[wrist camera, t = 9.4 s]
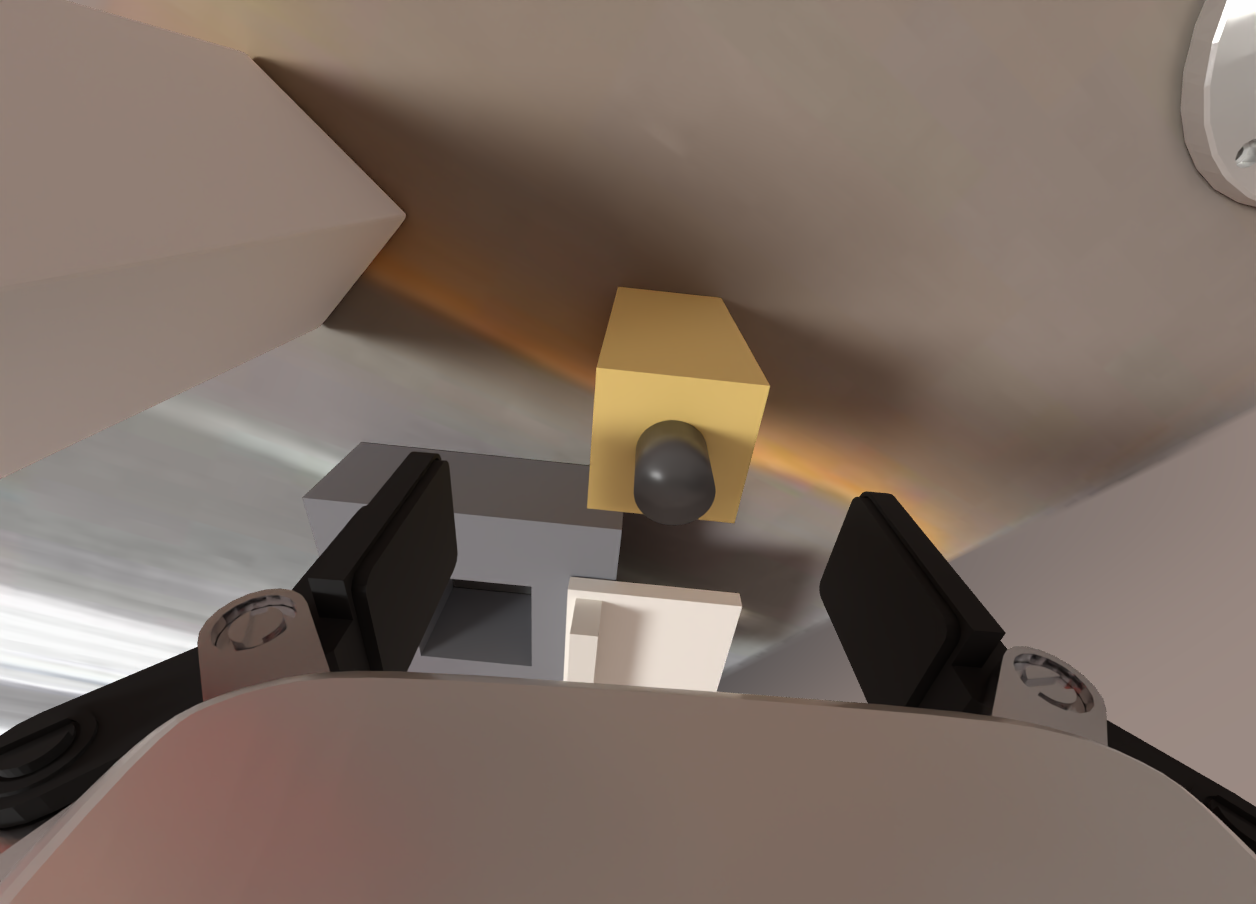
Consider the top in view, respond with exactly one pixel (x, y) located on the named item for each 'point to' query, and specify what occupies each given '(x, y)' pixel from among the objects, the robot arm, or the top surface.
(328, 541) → the socket housing
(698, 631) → the plate
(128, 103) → the milk carton
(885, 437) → the top surface
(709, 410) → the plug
